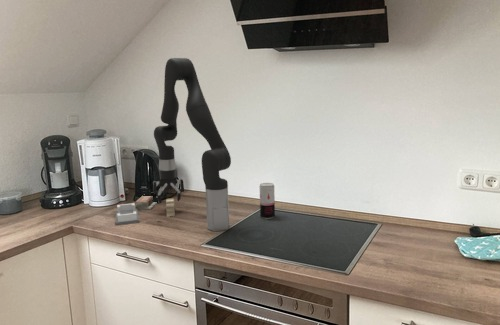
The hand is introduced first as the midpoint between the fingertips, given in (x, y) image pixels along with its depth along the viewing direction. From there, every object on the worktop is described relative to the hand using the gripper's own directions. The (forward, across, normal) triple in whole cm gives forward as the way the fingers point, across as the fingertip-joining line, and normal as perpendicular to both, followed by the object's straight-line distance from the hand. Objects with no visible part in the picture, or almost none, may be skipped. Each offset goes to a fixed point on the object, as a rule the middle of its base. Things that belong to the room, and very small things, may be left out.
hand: (169, 201), depth 190 cm
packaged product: (+6, -10, +18) cm, 21 cm away
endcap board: (+5, -20, 0) cm, 20 cm away
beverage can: (+5, +40, -26) cm, 48 cm away
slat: (+5, 0, 0) cm, 5 cm away
